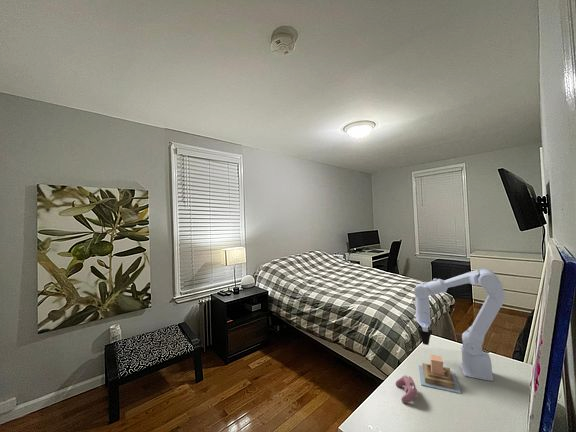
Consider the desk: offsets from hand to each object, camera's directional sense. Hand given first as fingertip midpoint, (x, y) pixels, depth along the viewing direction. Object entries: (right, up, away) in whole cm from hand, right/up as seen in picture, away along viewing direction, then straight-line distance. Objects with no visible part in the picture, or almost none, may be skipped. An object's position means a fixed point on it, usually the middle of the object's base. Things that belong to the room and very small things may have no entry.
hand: (424, 340), depth 109 cm
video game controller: (-18, -11, -20) cm, 29 cm away
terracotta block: (-2, -7, -12) cm, 14 cm away
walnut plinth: (-2, -9, -12) cm, 16 cm away
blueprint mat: (-2, -9, -12) cm, 16 cm away
